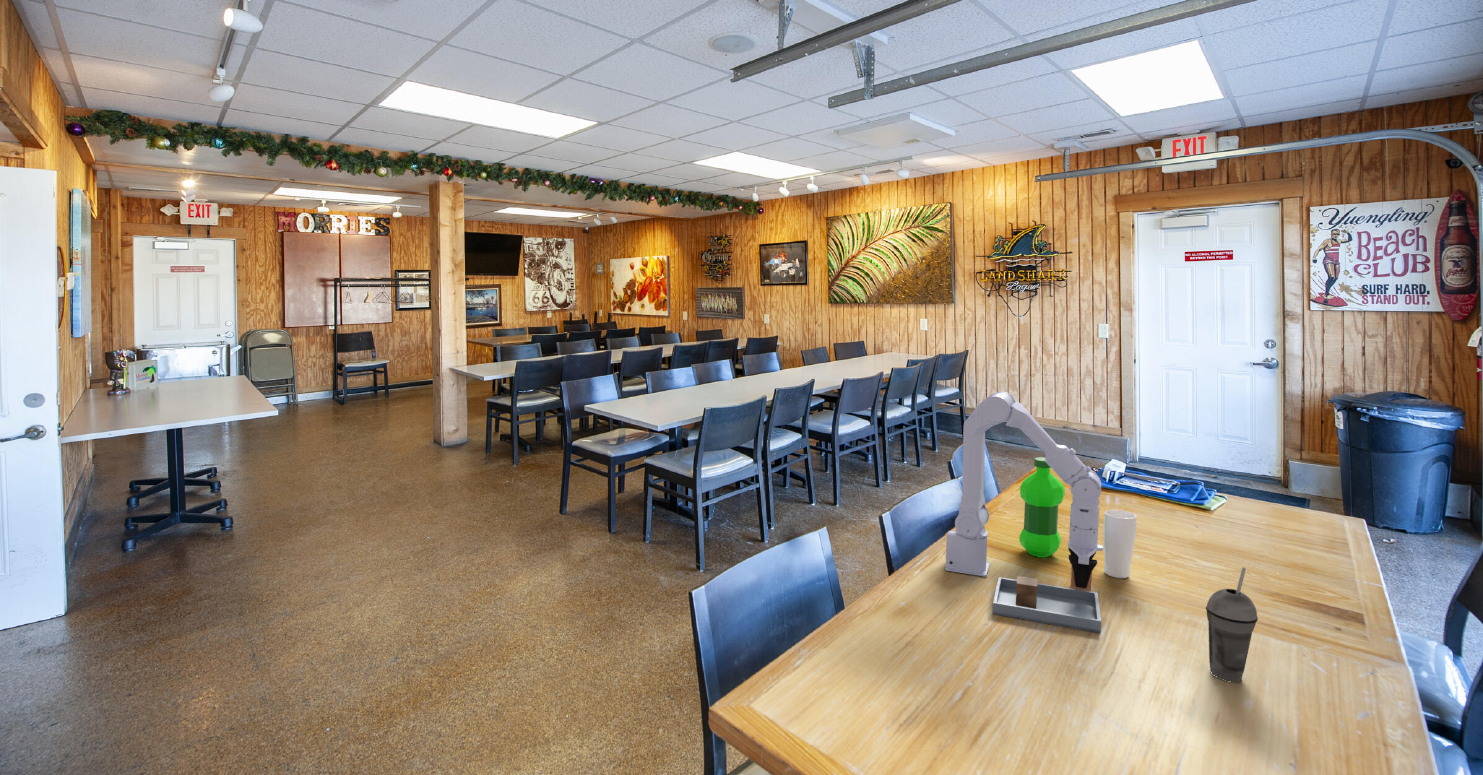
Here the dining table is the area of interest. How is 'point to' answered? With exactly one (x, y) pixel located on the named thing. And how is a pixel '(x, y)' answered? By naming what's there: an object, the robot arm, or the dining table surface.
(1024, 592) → the walnut block
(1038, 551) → the plastic bottle
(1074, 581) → the terracotta block
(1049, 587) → the tray
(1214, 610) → the beverage cup
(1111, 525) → the drinking glass
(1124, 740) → the dining table surface
